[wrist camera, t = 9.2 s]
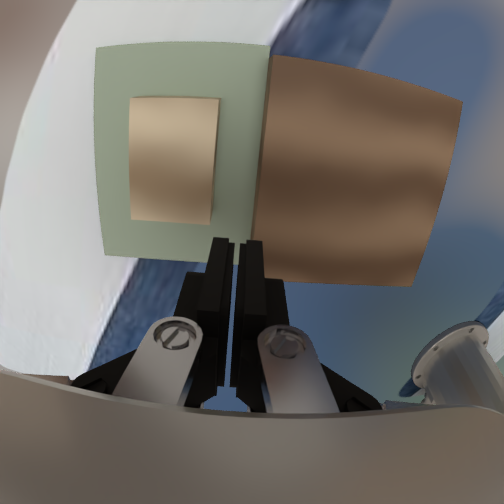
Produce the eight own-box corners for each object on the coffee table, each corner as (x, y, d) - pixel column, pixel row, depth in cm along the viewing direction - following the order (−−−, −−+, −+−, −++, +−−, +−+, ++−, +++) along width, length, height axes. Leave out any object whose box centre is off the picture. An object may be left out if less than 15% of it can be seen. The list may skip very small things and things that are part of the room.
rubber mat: (247, 262, 29) (247, 265, 28) (106, 252, 28) (104, 255, 27) (269, 46, 20) (270, 46, 19) (98, 48, 19) (96, 47, 18)
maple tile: (130, 219, 23) (140, 206, 25) (209, 225, 24) (212, 211, 26) (129, 98, 19) (140, 95, 21) (218, 99, 19) (221, 97, 21)
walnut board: (394, 262, 29) (411, 286, 26) (248, 252, 28) (249, 279, 25) (435, 96, 21) (462, 101, 18) (268, 59, 20) (273, 54, 17)
